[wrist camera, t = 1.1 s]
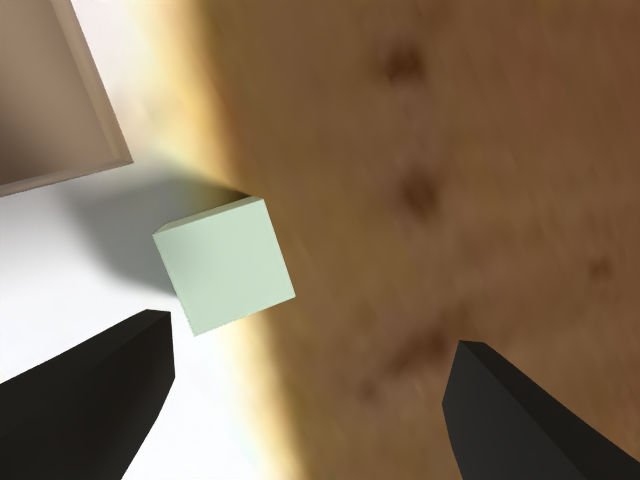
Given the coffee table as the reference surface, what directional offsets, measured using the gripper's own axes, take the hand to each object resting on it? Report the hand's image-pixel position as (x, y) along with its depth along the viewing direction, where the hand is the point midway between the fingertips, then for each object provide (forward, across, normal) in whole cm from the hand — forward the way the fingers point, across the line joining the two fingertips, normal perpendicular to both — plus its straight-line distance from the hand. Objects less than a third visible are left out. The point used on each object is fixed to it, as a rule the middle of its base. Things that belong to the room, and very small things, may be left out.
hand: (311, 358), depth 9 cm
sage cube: (+10, +5, +2) cm, 11 cm away
